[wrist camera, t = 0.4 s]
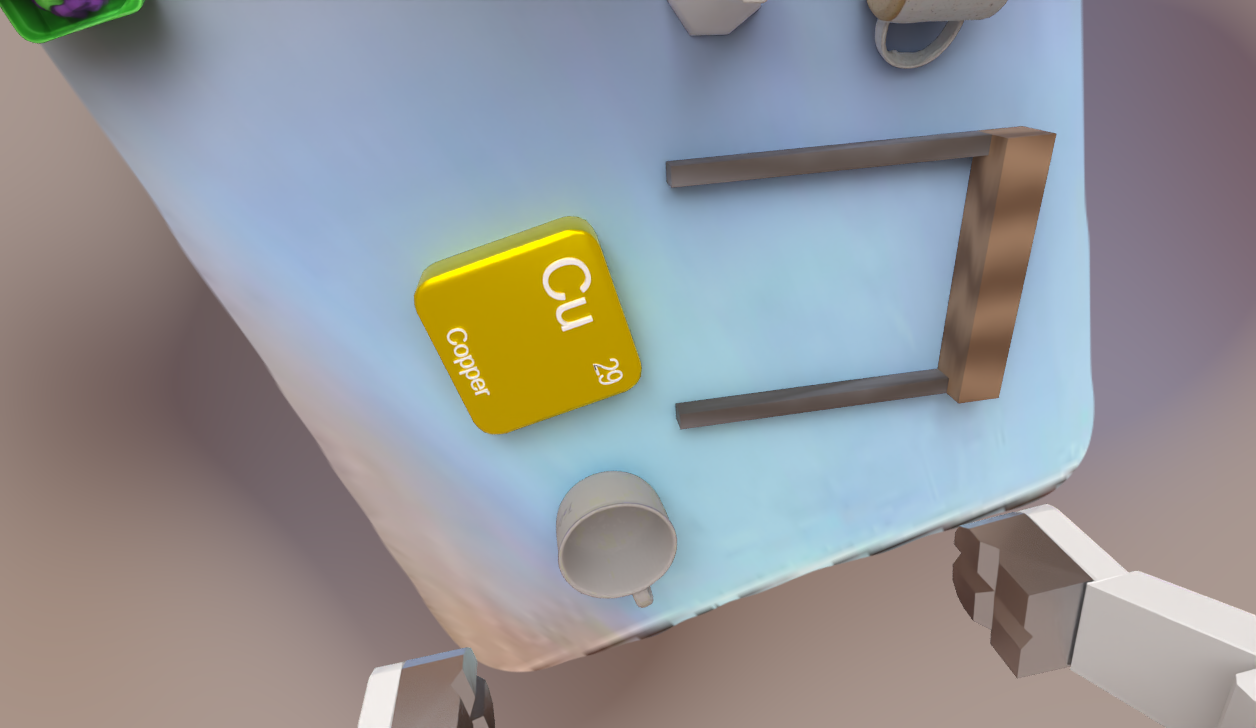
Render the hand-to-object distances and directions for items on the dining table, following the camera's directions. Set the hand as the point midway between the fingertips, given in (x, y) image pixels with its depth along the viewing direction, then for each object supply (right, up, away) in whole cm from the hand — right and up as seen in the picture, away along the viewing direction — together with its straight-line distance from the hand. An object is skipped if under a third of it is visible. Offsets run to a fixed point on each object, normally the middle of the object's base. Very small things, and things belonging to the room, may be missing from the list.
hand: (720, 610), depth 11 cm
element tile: (-10, +8, +47) cm, 49 cm away
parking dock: (+17, +11, +49) cm, 53 cm away
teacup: (-3, -11, +57) cm, 58 cm away
